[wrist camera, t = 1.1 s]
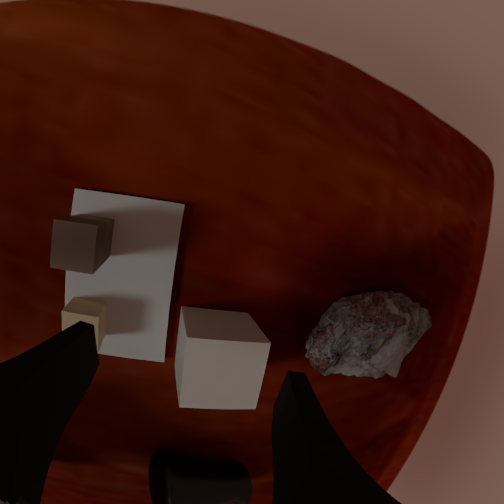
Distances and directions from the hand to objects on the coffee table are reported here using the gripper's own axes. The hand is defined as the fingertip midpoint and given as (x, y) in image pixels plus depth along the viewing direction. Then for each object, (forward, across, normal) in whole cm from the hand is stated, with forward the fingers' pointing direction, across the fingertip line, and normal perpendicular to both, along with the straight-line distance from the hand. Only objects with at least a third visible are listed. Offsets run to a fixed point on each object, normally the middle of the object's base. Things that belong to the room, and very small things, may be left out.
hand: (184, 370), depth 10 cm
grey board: (+10, +7, +4) cm, 13 cm away
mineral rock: (+16, -14, +7) cm, 22 cm away
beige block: (+11, 0, +8) cm, 14 cm away
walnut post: (+11, +9, 0) cm, 14 cm away
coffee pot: (+6, 0, +27) cm, 28 cm away
